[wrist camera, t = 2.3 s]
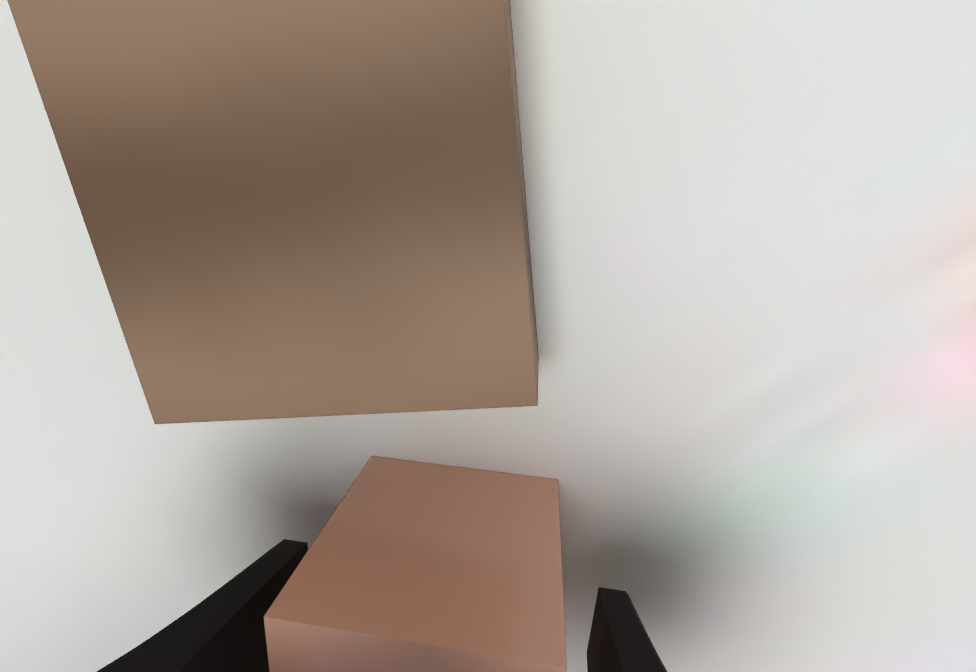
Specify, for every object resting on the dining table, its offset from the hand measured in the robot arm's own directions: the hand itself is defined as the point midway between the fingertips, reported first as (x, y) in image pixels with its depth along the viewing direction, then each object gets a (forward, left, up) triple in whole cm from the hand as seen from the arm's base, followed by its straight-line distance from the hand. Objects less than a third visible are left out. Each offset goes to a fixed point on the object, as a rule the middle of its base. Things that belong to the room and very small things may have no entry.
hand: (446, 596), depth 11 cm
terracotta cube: (0, 0, -2) cm, 2 cm away
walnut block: (+9, +3, -2) cm, 10 cm away
